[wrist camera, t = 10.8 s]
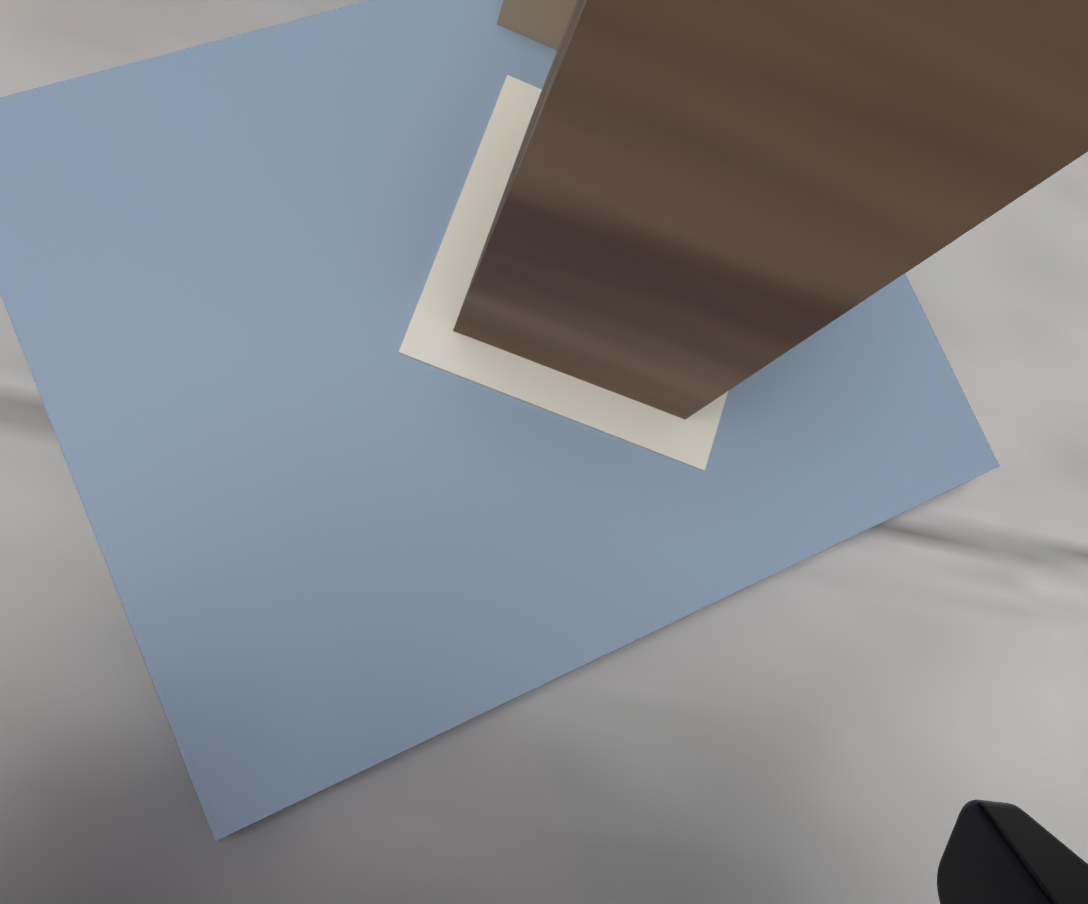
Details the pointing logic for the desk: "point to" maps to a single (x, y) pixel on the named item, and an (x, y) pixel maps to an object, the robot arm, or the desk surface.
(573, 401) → the board
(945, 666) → the desk surface
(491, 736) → the desk surface
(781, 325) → the block
